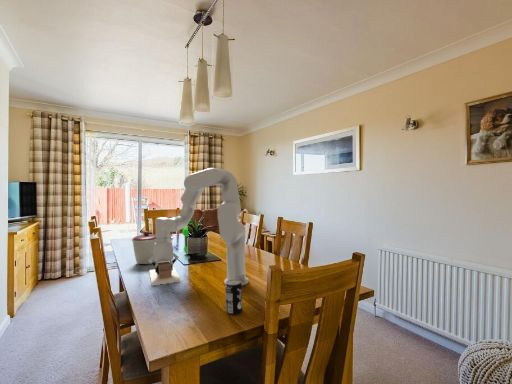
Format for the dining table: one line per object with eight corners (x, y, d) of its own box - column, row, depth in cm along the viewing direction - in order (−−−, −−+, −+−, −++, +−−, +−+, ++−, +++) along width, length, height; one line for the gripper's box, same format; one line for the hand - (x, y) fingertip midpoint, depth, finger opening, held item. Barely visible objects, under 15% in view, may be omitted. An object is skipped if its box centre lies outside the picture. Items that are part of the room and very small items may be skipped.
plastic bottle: (180, 254, 200) (179, 220, 200) (193, 251, 208) (192, 219, 207) (187, 256, 193) (186, 221, 193) (200, 253, 201) (199, 220, 200)
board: (180, 281, 144) (180, 278, 144) (151, 286, 138) (151, 283, 138) (174, 269, 166) (173, 266, 166) (149, 272, 160) (149, 270, 160)
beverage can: (242, 307, 112) (241, 278, 112) (242, 315, 105) (241, 284, 105) (226, 308, 112) (225, 279, 111) (225, 315, 105) (224, 285, 105)
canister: (150, 257, 193) (148, 228, 193) (167, 260, 184) (166, 229, 183) (126, 264, 178) (125, 232, 177) (144, 268, 169) (143, 234, 168)
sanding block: (171, 277, 146) (171, 264, 146) (159, 279, 143) (159, 266, 143) (168, 272, 155) (167, 259, 155) (157, 273, 152) (156, 261, 152)
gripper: (178, 237, 156) (179, 268, 156) (145, 240, 148) (146, 273, 149) (180, 239, 149) (181, 272, 149) (146, 243, 142) (147, 277, 142)
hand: (164, 272), depth 149 cm, fingers closed on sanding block, 6 cm apart
